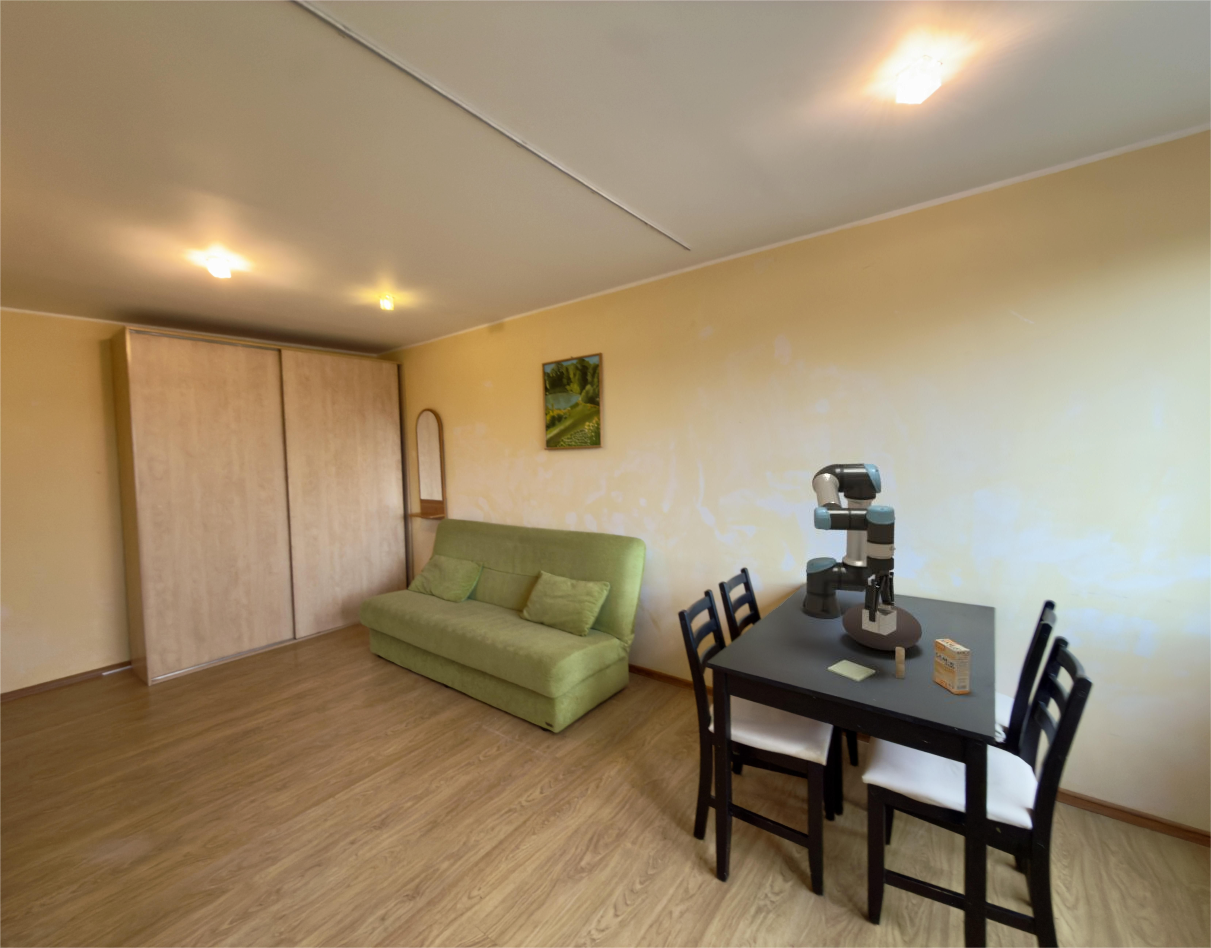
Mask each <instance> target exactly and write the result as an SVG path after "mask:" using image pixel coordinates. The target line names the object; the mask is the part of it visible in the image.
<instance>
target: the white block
mask: <svg viewBox="0 0 1211 948" xmlns="http://www.w3.org/2000/svg"><path fill="white" fill-rule="evenodd" d="M877 611H878V612H879V632H878V633H880V634H883V635H887V634H889V633H891V632H893V631H894V630H896V610H892V609H887V608H883V607H879V606H878V609H877ZM868 615H869V611H868V610H865V609H863V610H862V629H866V630H868Z"/></svg>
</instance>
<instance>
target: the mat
mask: <svg viewBox="0 0 1211 948" xmlns="http://www.w3.org/2000/svg"><path fill="white" fill-rule="evenodd" d="M827 671H828V672H832V673H835V674H837V675H839V676H842V677H845V678H847V679H850V680H853V681H855V682H861V681H863V680H864V679H866V678H868V677H870V676H871V675H874V674H876V670H874V669H871V668H869V667H866V666H863V665H860V664H857V663H856V662H855V663H854V662H852V661H849V660H847V659H843V660H841V661H839V662H836V664H833V665H832V666H829V667H828V668H827Z"/></svg>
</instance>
